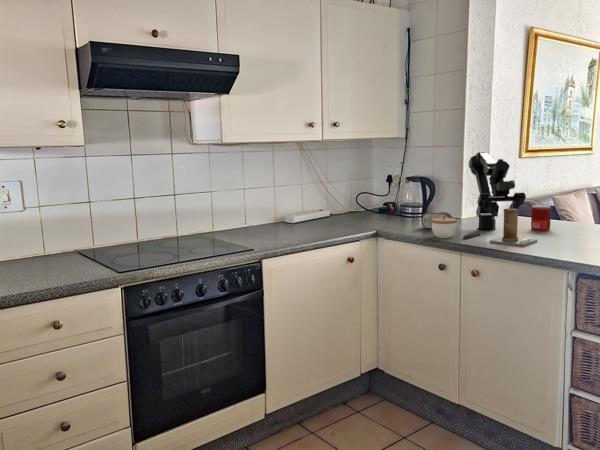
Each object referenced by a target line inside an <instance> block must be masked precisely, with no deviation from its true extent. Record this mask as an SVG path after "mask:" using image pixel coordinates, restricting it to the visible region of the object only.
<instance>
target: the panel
mask: <svg viewBox="0 0 600 450" xmlns="http://www.w3.org/2000/svg"><path fill="white" fill-rule="evenodd" d="M502 237H503V236H499V237H496V238H493V239H490V240H489V244H496V245H503V246H513V247H522V248H525V247H527V246H530V245H533V244H535V243H538V239H535V238H531V241H529V242H527V243H524V244H520V243H519V240H522V239H525V238H526V237H518V241H513V242H510V241H503V240H502Z"/></svg>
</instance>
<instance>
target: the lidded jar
mask: <svg viewBox="0 0 600 450" xmlns="http://www.w3.org/2000/svg"><path fill="white" fill-rule="evenodd" d="M431 222H432V229H431V230H432V233H433V234H434V235H435V236H436V238H438V237H439V238H440V239H450V238H452V236H453V235H454V234H455V233H456V229H457V219H456V218H453V217H452V218H445V216H443V218H434V219H431ZM449 237H450V238H449Z"/></svg>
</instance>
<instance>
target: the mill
mask: <svg viewBox="0 0 600 450" xmlns="http://www.w3.org/2000/svg"><path fill="white" fill-rule="evenodd" d="M518 213H519V208H518V209H513V208H504V209H503V229H502V230H503V233H502V234H503V237H502V236H501V237H502V240H503V241H510V242H513V241H518V238H519V237H518V223H519V221H518V216H519V214H518Z"/></svg>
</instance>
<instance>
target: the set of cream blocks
mask: <svg viewBox="0 0 600 450" xmlns="http://www.w3.org/2000/svg"><path fill="white" fill-rule="evenodd" d="M524 238H525V239H522V240H519V243H520V244H524V243H527V242H529V241H531V239H532V238H531V237H524Z"/></svg>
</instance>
